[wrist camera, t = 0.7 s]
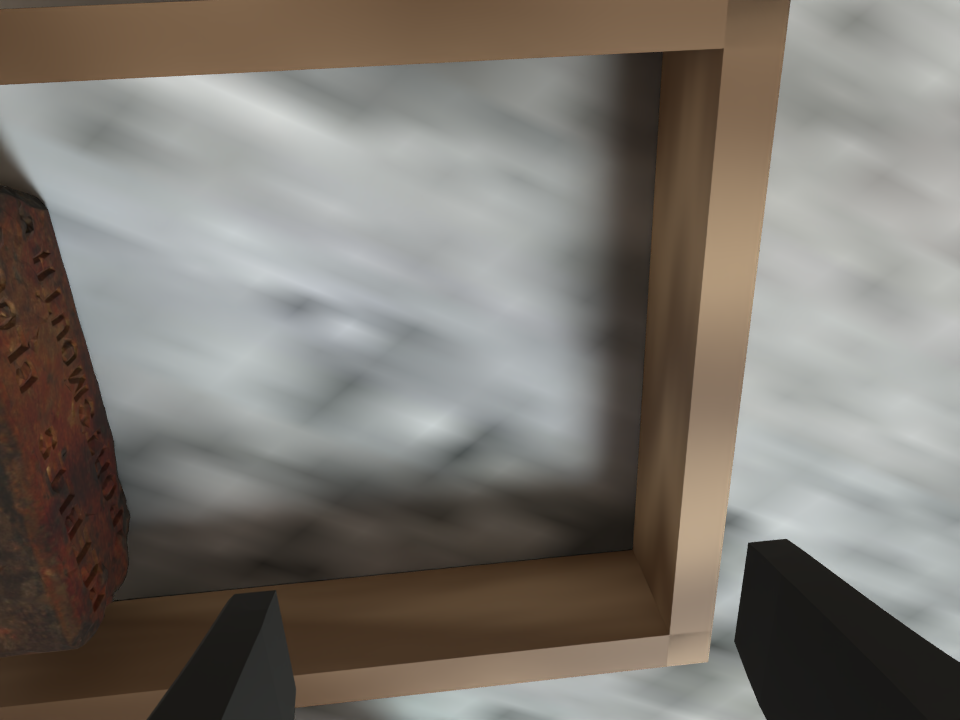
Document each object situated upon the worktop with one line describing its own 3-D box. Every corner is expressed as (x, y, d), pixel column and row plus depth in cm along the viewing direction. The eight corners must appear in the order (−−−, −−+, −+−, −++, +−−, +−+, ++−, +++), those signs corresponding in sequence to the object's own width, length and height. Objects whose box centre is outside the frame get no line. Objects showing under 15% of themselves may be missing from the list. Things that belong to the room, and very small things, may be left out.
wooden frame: (666, 575, 25) (707, 661, 21) (-25, 646, 23) (-94, 751, 20) (718, -20, 17) (794, -26, 14) (-303, 24, 15) (-487, 30, 12)
